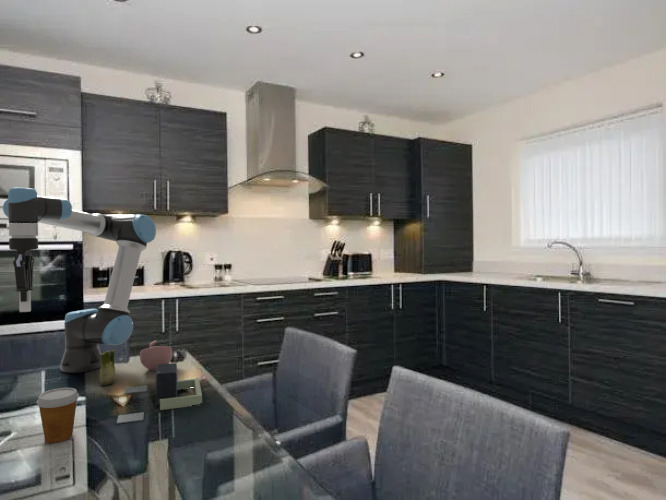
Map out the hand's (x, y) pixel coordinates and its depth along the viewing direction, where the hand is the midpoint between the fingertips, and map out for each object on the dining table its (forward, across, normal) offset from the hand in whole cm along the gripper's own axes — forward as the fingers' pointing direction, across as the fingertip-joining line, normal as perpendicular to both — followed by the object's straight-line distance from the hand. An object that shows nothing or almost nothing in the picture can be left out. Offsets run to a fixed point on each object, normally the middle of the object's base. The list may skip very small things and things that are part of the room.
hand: (25, 311), depth 140 cm
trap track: (+29, +12, +41) cm, 51 cm away
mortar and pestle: (+30, -22, +38) cm, 53 cm away
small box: (+30, +12, +42) cm, 53 cm away
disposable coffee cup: (+30, +31, +15) cm, 45 cm away
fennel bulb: (+30, -10, +22) cm, 38 cm away
